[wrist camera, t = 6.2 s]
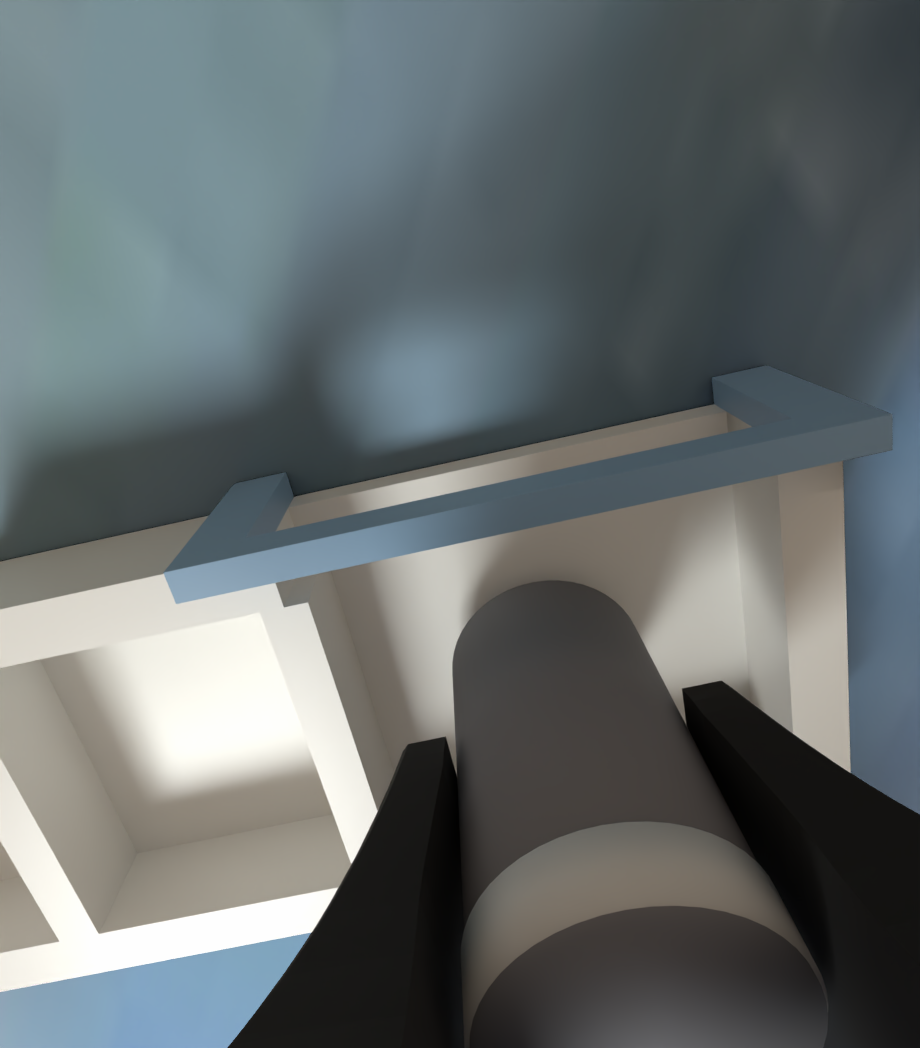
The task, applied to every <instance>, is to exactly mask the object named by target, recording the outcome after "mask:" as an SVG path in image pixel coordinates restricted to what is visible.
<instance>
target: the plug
mask: <svg viewBox="0 0 920 1048" xmlns="http://www.w3.org/2000/svg"><path fill="white" fill-rule="evenodd" d="M452 677H453V699H454V721H455V743H456V765H457V787H458V809H459V831H460V853H461V875H462V897H463V919H464V932H463V938H462V943H461V973H462V998H463V1024H464V1048H823V1047H824V1043H825V1039H826V1035H827V1029H828V999H827V990H826V987H825V984H824V981H823V978H822V975H821V973H820V971H819V969H818V967H817V965H816V964H815V962H814V960H813V958H812V956H811V954H810V952H809V950H808V948H807V946H806V945H805V943H804V941H803V939H802V937H801V935H800V933H799V931H798V929H797V927H796V926H795V924H794V922H793V920H792V918H791V916H790V914H789V912H788V910H787V908H786V907H785V905H784V903H783V901H782V899H781V897H780V895H779V893H778V891H777V889H776V888H775V886H774V884H773V882H772V881H771V879H770V877H769V876H768V874H767V873H766V872H765V871H764V870H763V868H762V867H761V866H760V865H759V863H757V861H756V859H755V857H754V855H753V853H752V851H751V849H750V847H749V845H748V843H747V841H746V839H745V838H744V836H743V834H742V832H741V830H740V828H739V826H738V824H737V822H736V820H735V818H734V816H733V814H732V812H731V811H730V809H729V807H728V805H727V803H726V801H725V799H724V797H723V795H722V793H721V791H720V789H719V787H718V785H717V784H716V782H715V780H714V778H713V776H712V774H711V772H710V770H709V768H708V766H707V764H706V762H705V760H704V758H703V757H702V755H701V753H700V751H699V749H698V747H697V745H696V743H695V741H694V739H693V737H692V735H691V733H690V731H689V730H688V728H687V726H686V724H685V722H684V720H683V718H682V716H681V714H680V712H679V710H678V708H677V706H676V704H675V703H674V701H673V699H672V697H671V695H670V693H669V691H668V689H667V687H666V685H665V683H664V681H663V679H662V677H661V676H660V674H659V672H658V670H657V668H656V666H655V664H654V662H653V660H652V658H651V656H650V654H649V652H648V650H647V649H646V647H645V645H644V643H643V641H642V639H641V637H640V635H639V633H638V631H637V629H636V627H635V626H634V624H633V622H632V620H631V618H630V617H629V616H628V614H627V613H626V612H625V611H624V609H623V608H622V607H621V606H620V605H619V604H617V603H616V602H615V601H614V600H613V599H611V598H610V597H608V596H607V595H606V594H604V593H602V592H600V591H598V590H596V589H594V588H591V587H589V586H586V585H583V584H579V583H575V582H569V581H560V580H548V581H538V582H531V583H527V584H523V585H520V586H517V587H514V588H512V589H509V590H507V591H505V592H503V593H501V594H499V595H497V596H496V597H494V598H493V599H491V600H490V601H488V602H487V603H485V604H484V605H483V606H482V607H481V608H480V609H479V610H478V611H477V612H476V613H475V614H474V615H473V616H472V617H471V618H470V620H469V621H468V622H467V624H466V625H465V627H464V628H463V630H462V632H461V634H460V636H459V638H458V640H457V643H456V647H455V650H454V654H453V661H452Z"/></svg>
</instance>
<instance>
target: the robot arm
mask: <svg viewBox="0 0 920 1048" xmlns="http://www.w3.org/2000/svg"><path fill="white" fill-rule="evenodd" d="M682 693H683V701H684V709H685V717H686V725H687V728H688V730H689V731H690V733H691V735H692V737H693V739H694V741H695V743H696V745H697V747H698V749H699V751H700V753H701V755H702V757H703V758H704V760H705V762H706V764H707V766H708V768H709V770H710V772H711V774H712V776H713V778H714V780H715V782H716V784H717V785H718V787H719V789H720V791H721V793H722V795H723V797H724V799H725V801H726V803H727V805H728V807H729V809H730V811H731V812H732V814H733V816H734V818H735V820H736V822H737V824H738V826H739V828H740V830H741V832H742V834H743V836H744V838H745V839H746V841H747V843H748V845H749V847H750V849H751V851H752V853H753V855H754V857H755V859H756V861H757V863H759V865H760V866H761V867H762V868H763V870H764V871H765V872H766V873H767V874H768V876H769V877H770V879H771V881H772V882H773V884H774V886H775V888H776V889H777V891H778V893H779V895H780V897H781V899H782V901H783V903H784V905H785V907H786V908H787V910H788V912H789V914H790V916H791V918H792V920H793V922H794V924H795V926H796V927H797V929H798V931H799V933H800V935H801V937H802V939H803V941H804V943H805V945H806V946H807V948H808V950H809V952H810V954H811V956H812V958H813V960H814V962H815V964H816V965H817V967H818V969H819V971H820V973H821V975H822V978H823V981H824V984H825V987H826V990H827V999H828V1029H827V1035H826V1039H825V1043H824V1047H823V1048H920V814H918V813H916V812H914V811H912V810H911V809H909V808H907V807H905V806H904V805H902V804H900V803H898V802H897V801H895V800H893V799H891V798H890V797H888V796H887V795H885V794H883V793H882V792H880V791H878V790H877V789H875V788H874V787H872V786H870V785H869V784H867V783H865V782H864V781H862V780H861V779H859V778H857V777H856V776H854V775H853V774H851V773H850V772H848V771H847V770H845V769H844V768H842V767H841V766H839V765H838V764H836V763H835V762H833V761H832V760H830V759H829V758H827V757H826V756H824V755H823V754H821V753H820V752H819V751H817V750H816V749H814V748H813V747H811V746H810V745H808V744H807V743H805V742H804V741H803V740H801V739H800V738H798V737H797V736H796V735H794V734H793V733H791V732H790V731H789V730H787V729H786V728H785V727H783V726H782V725H780V724H779V723H778V722H776V721H775V720H774V719H772V718H771V717H770V716H768V715H767V714H766V713H764V712H763V711H762V710H760V709H759V708H758V707H756V706H755V705H754V704H752V703H751V702H750V701H749V700H747V699H746V698H745V697H743V696H742V695H741V694H739V693H738V692H737V691H736V690H734V689H733V688H732V687H730V686H729V685H727V684H726V683H724V682H723V681H717V682H712V683H707V684H702V685H697V686H692V687H687V688H682ZM463 932H464V919H463V897H462V875H461V853H460V831H459V809H458V787H457V775H456V772H455V768H454V764H453V761H452V757H451V753H450V750H449V746H448V743H447V739H446V736H445V737H440V738H435V739H431V740H426V741H421V742H416V743H411V744H408V745H407V746H406V748H405V749H404V750H403V752H402V755H401V757H400V760H399V762H398V765H397V767H396V770H395V773H394V775H393V777H392V780H391V782H390V785H389V787H388V789H387V792H386V794H385V796H384V798H383V801H382V803H381V805H380V807H379V810H378V812H377V814H376V816H375V818H374V820H373V822H372V824H371V826H370V828H369V830H368V832H367V835H366V837H365V839H364V841H363V843H362V845H361V847H360V849H359V851H358V853H357V855H356V857H355V859H354V860H353V862H352V864H351V866H350V868H349V869H348V871H347V873H346V875H345V877H344V878H343V880H342V882H341V884H340V886H339V887H338V889H337V891H336V893H335V895H334V896H333V898H332V900H331V902H330V903H329V905H328V907H327V909H326V910H325V912H324V913H323V915H322V917H321V918H320V920H319V922H318V923H317V925H316V926H315V928H314V930H313V931H312V933H311V934H310V936H309V937H308V939H307V941H306V942H305V944H304V945H303V947H302V948H301V950H300V951H299V952H298V954H297V955H296V957H295V958H294V960H293V961H292V963H291V964H290V966H289V967H288V969H287V970H286V972H285V973H284V974H283V976H282V977H281V978H280V980H279V981H278V983H277V984H276V985H275V987H274V988H273V989H272V991H271V992H270V993H269V995H268V996H267V997H266V999H265V1000H264V1002H263V1003H262V1004H261V1006H260V1007H259V1008H258V1010H257V1011H256V1012H255V1014H254V1015H253V1016H252V1018H251V1019H250V1020H249V1021H248V1023H247V1024H246V1025H245V1027H244V1028H243V1029H242V1030H241V1032H240V1033H239V1034H238V1035H237V1037H236V1038H235V1039H234V1040H233V1042H232V1043H231V1044H230V1045H229V1046H228V1048H464V1024H463V998H462V973H461V943H462V938H463Z"/></svg>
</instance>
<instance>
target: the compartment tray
mask: <svg viewBox="0 0 920 1048" xmlns="http://www.w3.org/2000/svg"><path fill="white" fill-rule="evenodd" d="M712 386H713V397H714V404H713V405H708V406H704V407H699V408H694V409H690V410H685V411H681V412H676V413H672V414H667V415H663V416H658V417H654V418H649V419H645V420H640V421H635V422H631V423H626V424H622V425H617V426H613V427H608V428H604V429H599V430H595V431H590V432H586V433H581V434H577V435H572V436H567V437H563V438H558V439H554V440H549V441H545V442H540V443H536V444H531V445H527V446H522V447H518V448H513V449H508V450H504V451H499V452H495V453H490V454H486V455H481V456H477V457H472V458H468V459H463V460H459V461H454V462H450V463H445V464H440V465H436V466H431V467H427V468H422V469H418V470H413V471H409V472H404V473H400V474H395V475H391V476H386V477H381V478H377V479H372V480H368V481H363V482H359V483H354V484H350V485H345V486H341V487H336V488H332V489H327V490H323V491H318V492H313V493H309V494H304V495H300V496H295V497H294V496H293V492H292V489H291V486H290V483H289V480H288V477H287V474H286V472H284V473H280V474H275V475H271V476H266V477H262V478H257V479H253V480H248V481H244V482H239V483H235V484H234V485H233V486H232V487H231V488H230V490H229V491H228V492H227V493H226V495H225V496H224V497H223V498H222V500H221V501H220V502H219V503H218V505H217V506H216V507H215V508H214V510H213V511H212V512H211V514H210V515H209V516H205V517H200V518H196V519H191V520H186V521H182V522H177V523H173V524H168V525H164V526H159V527H155V528H150V529H146V530H141V531H137V532H132V533H127V534H123V535H118V536H114V537H109V538H105V539H100V540H96V541H91V542H87V543H82V544H78V545H73V546H69V547H64V548H59V549H55V550H50V551H46V552H41V553H37V554H32V555H28V556H23V557H19V558H14V559H10V560H5V561H0V992H2V991H7V990H13V989H18V988H23V987H28V986H34V985H39V984H44V983H49V982H54V981H60V980H65V979H70V978H75V977H81V976H86V975H91V974H96V973H101V972H107V971H112V970H117V969H122V968H127V967H133V966H138V965H143V964H148V963H154V962H159V961H164V960H169V959H174V958H180V957H185V956H190V955H195V954H201V953H206V952H211V951H216V950H221V949H227V948H232V947H237V946H242V945H247V944H253V943H258V942H263V941H268V940H274V939H279V938H284V937H289V936H294V935H300V934H305V933H310V932H312V931H313V930H314V928H315V926H316V925H317V923H318V922H319V920H320V918H321V917H322V915H323V913H324V912H325V910H326V909H327V907H328V905H329V903H330V902H331V900H332V898H333V896H334V895H335V893H336V891H337V889H338V887H339V886H340V884H341V882H342V880H343V878H344V877H345V875H346V873H347V871H348V869H349V868H350V866H351V864H352V862H353V860H354V859H355V857H356V855H357V853H358V851H359V849H360V847H361V845H362V843H363V841H364V839H365V837H366V835H367V832H368V830H369V828H370V826H371V824H372V822H373V820H374V818H375V816H376V814H377V812H378V810H379V807H380V805H381V803H382V801H383V798H384V796H385V794H386V792H387V789H388V787H389V785H390V782H391V780H392V777H393V775H394V773H395V770H396V767H397V765H398V762H399V760H400V757H401V755H402V752H403V750H404V749H405V748H406V746H407V745H408V744H411V743H416V742H421V741H426V740H431V739H435V738H440V737H445V736H446V739H447V743H448V746H449V750H450V753H451V757H452V761H453V764H454V768H455V772H456V775H457V765H456V743H455V721H454V699H453V677H452V661H453V654H454V650H455V647H456V643H457V640H458V638H459V636H460V634H461V632H462V630H463V628H464V627H465V625H466V624H467V622H468V621H469V620H470V618H471V617H472V616H473V615H474V614H475V613H476V612H477V611H478V610H479V609H480V608H481V607H482V606H483V605H484V604H485V603H487V602H488V601H490V600H491V599H493V598H494V597H496V596H497V595H499V594H501V593H503V592H505V591H507V590H509V589H512V588H514V587H517V586H520V585H523V584H527V583H531V582H538V581H548V580H560V581H569V582H575V583H579V584H583V585H586V586H589V587H591V588H594V589H596V590H598V591H600V592H602V593H604V594H606V595H607V596H608V597H610V598H611V599H613V600H614V601H615V602H616V603H617V604H619V605H620V606H621V607H622V608H623V609H624V611H625V612H626V613H627V614H628V616H629V617H630V618H631V620H632V622H633V624H634V626H635V627H636V629H637V631H638V633H639V635H640V637H641V639H642V641H643V643H644V645H645V647H646V649H647V650H648V652H649V654H650V656H651V658H652V660H653V662H654V664H655V666H656V668H657V670H658V672H659V674H660V676H661V677H662V679H663V681H664V683H665V685H666V687H667V689H668V691H669V693H670V695H671V697H672V699H673V701H674V703H675V704H676V706H677V708H678V710H679V712H680V714H681V716H682V718H683V720H684V722H685V724H686V717H685V709H684V701H683V693H682V688H687V687H692V686H697V685H702V684H707V683H712V682H717V681H723V682H724V683H726V684H727V685H729V686H730V687H732V688H733V689H734V690H736V691H737V692H738V693H739V694H741V695H742V696H743V697H745V698H746V699H747V700H749V701H750V702H751V703H752V704H754V705H755V706H756V707H758V708H759V709H760V710H762V711H763V712H764V713H766V714H767V715H768V716H770V717H771V718H772V719H774V720H775V721H776V722H778V723H779V724H780V725H782V726H783V727H785V728H786V729H787V730H789V731H790V732H791V733H793V734H794V735H796V736H797V737H798V738H800V739H801V740H803V741H804V742H805V743H807V744H808V745H810V746H811V747H813V748H814V749H816V750H817V751H819V752H820V753H821V754H823V755H824V756H826V757H827V758H829V759H830V760H832V761H833V762H835V763H836V764H838V765H839V766H841V767H842V768H844V769H845V770H847V771H848V772H850V773H851V769H850V729H849V689H848V649H847V608H846V568H845V528H844V488H843V461H844V460H849V459H854V458H858V457H863V456H868V455H872V454H877V453H881V452H886V451H891V450H892V414H891V413H888V412H885V411H883V410H880V409H878V408H875V407H873V406H870V405H867V404H865V403H862V402H860V401H857V400H855V399H852V398H849V397H847V396H844V395H842V394H839V393H837V392H834V391H831V390H829V389H826V388H824V387H821V386H819V385H816V384H813V383H811V382H808V381H806V380H803V379H801V378H798V377H795V376H793V375H790V374H788V373H785V372H783V371H780V370H777V369H775V368H772V367H770V366H767V365H766V366H761V367H757V368H752V369H748V370H743V371H739V372H734V373H730V374H725V375H721V376H716V377H712ZM686 726H687V725H686Z"/></svg>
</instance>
